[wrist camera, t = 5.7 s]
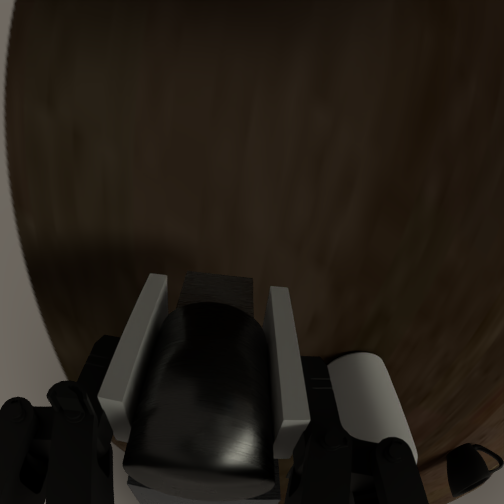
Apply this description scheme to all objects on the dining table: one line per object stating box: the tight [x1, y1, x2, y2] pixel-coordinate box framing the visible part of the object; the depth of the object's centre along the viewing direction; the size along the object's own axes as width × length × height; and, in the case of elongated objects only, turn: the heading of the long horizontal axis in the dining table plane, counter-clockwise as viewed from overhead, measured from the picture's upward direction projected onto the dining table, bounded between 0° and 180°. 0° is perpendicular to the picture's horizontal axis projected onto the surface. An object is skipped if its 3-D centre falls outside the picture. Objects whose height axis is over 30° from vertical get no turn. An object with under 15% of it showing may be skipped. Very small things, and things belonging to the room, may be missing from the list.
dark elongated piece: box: [123, 271, 275, 501], centre depth 16 cm, size 26×4×9 cm, turn 173°
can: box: [327, 352, 418, 464], centre depth 21 cm, size 6×6×12 cm
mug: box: [447, 443, 504, 497], centre depth 38 cm, size 8×12×10 cm
